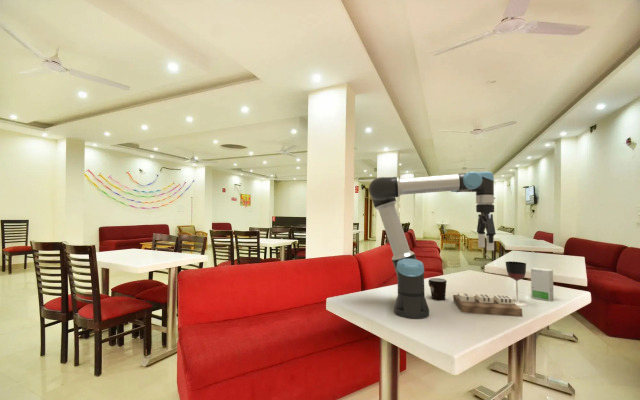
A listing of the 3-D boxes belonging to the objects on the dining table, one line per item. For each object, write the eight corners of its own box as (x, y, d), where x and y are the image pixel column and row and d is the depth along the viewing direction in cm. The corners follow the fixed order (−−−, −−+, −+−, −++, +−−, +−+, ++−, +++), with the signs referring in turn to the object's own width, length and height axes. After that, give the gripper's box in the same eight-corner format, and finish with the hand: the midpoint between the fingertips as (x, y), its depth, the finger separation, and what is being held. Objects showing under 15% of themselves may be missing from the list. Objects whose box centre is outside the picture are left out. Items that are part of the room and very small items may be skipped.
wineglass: (515, 300, 147) (513, 261, 148) (532, 305, 139) (530, 263, 140) (503, 301, 144) (501, 261, 146) (520, 306, 136) (518, 264, 137)
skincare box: (531, 298, 150) (529, 268, 151) (535, 296, 154) (533, 267, 155) (550, 301, 144) (549, 270, 145) (554, 299, 148) (553, 269, 149)
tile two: (479, 302, 132) (479, 296, 133) (475, 298, 138) (475, 293, 138) (493, 303, 131) (493, 297, 131) (489, 299, 137) (489, 294, 137)
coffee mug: (449, 301, 145) (448, 281, 146) (431, 300, 147) (430, 281, 148) (443, 295, 157) (443, 277, 157) (427, 294, 158) (426, 276, 159)
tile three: (498, 303, 130) (498, 297, 131) (494, 300, 136) (494, 294, 136) (513, 304, 129) (513, 298, 129) (508, 300, 135) (508, 295, 135)
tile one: (460, 301, 134) (460, 295, 135) (457, 297, 140) (457, 292, 140) (474, 302, 133) (474, 296, 133) (471, 298, 139) (471, 293, 139)
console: (461, 312, 129) (461, 305, 129) (453, 301, 146) (453, 294, 146) (522, 316, 123) (521, 309, 123) (506, 304, 140) (506, 297, 140)
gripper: (503, 202, 124) (504, 252, 123) (485, 205, 148) (486, 246, 147) (484, 202, 126) (485, 251, 125) (469, 205, 150) (470, 245, 149)
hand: (485, 248), depth 136 cm, fingers open, 13 cm apart
